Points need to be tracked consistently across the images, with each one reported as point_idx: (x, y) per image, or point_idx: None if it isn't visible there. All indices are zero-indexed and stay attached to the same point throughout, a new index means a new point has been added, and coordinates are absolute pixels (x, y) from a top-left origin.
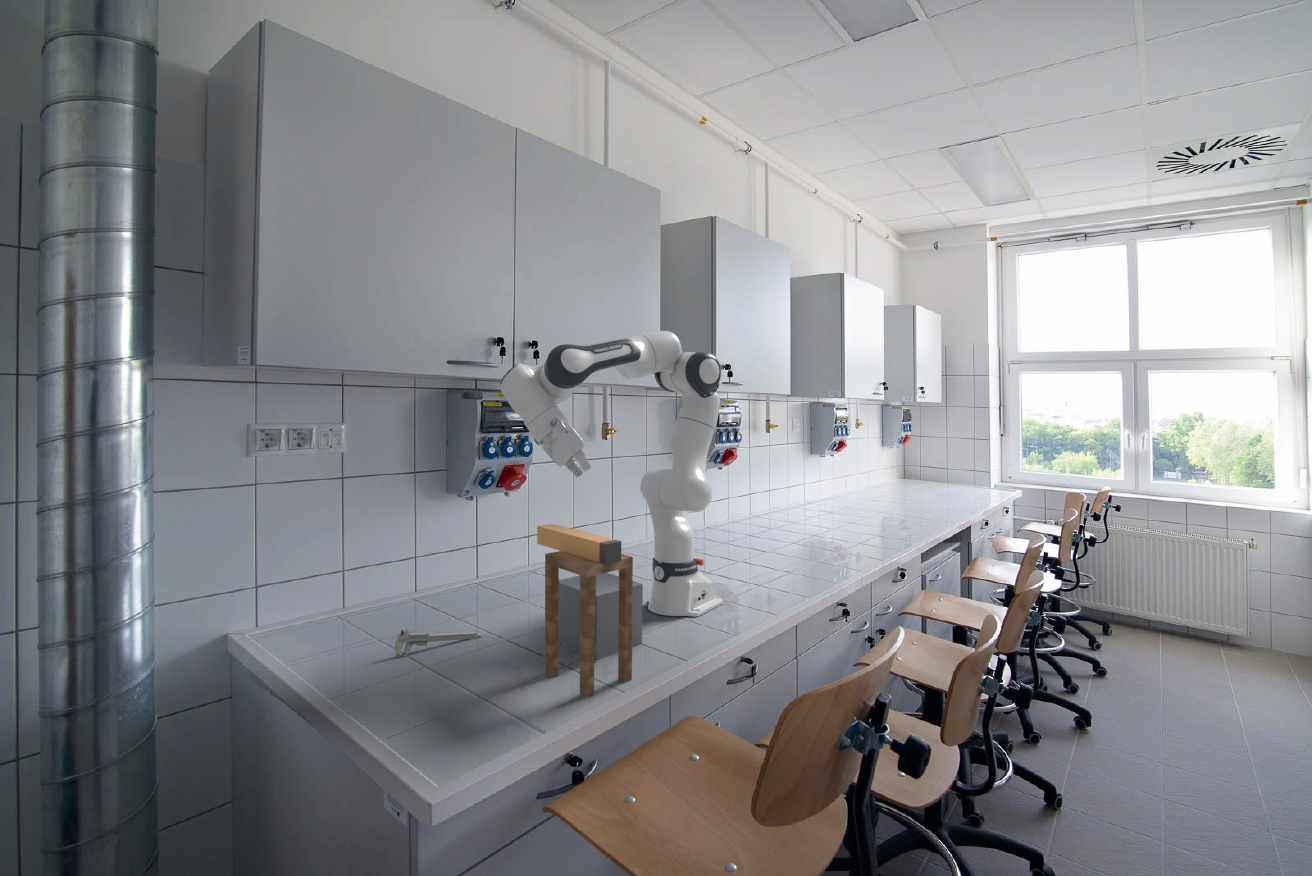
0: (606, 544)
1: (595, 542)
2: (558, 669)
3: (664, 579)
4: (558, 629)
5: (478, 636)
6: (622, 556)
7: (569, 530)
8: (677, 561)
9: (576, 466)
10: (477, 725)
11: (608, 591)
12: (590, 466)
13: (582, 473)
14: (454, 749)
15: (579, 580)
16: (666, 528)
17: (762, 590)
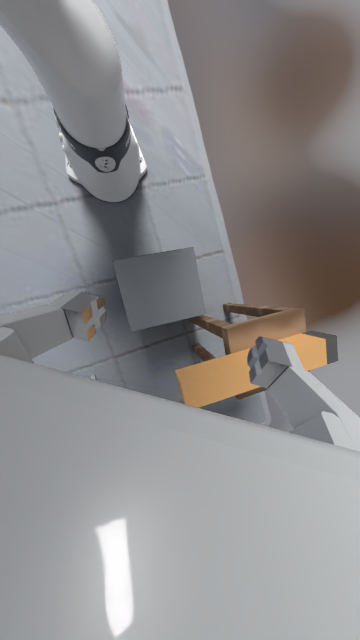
0: (337, 359)
1: (318, 366)
2: (199, 344)
3: (116, 167)
4: (210, 353)
5: (95, 377)
6: (296, 319)
7: (244, 374)
8: (123, 129)
9: (43, 317)
10: (230, 400)
11: (197, 295)
12: (290, 345)
13: (101, 298)
14: (244, 413)
15: (143, 305)
16: (89, 72)
17: (99, 5)
